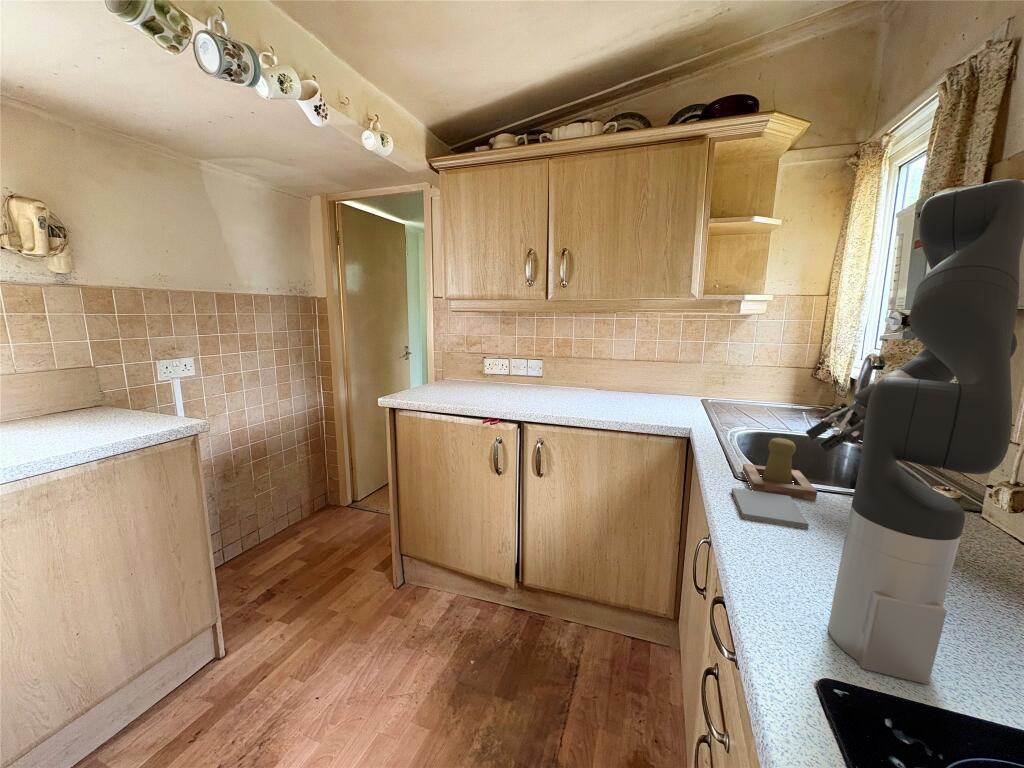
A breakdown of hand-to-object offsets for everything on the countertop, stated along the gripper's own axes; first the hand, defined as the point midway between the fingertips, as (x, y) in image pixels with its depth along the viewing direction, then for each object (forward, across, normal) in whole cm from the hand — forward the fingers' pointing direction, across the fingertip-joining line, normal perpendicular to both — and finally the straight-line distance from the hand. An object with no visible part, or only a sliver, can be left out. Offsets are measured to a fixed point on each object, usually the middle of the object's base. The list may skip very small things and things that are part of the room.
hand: (815, 441), depth 92 cm
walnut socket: (+12, 0, +4) cm, 13 cm away
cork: (+12, 0, +4) cm, 13 cm away
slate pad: (+16, +14, 0) cm, 21 cm away
